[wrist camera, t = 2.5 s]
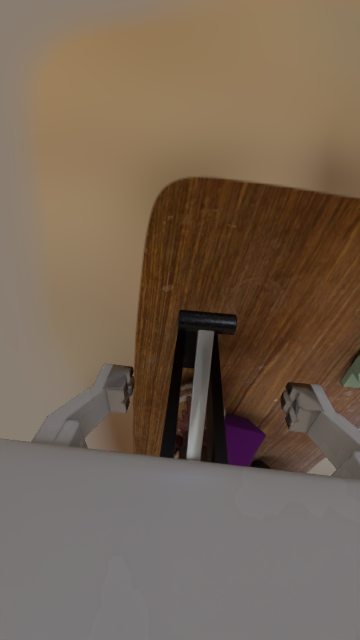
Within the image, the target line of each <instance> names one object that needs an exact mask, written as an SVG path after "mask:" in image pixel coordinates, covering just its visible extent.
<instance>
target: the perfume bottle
mask: <svg viewBox="0 0 360 640" xmlns="http://www.w3.org/2000/svg"><path fill="white" fill-rule="evenodd" d="M225 432H226V444H227V456H228V464H229V465H238V466H247V467H249V465H250V463H251V461H252V459H253V457H254V455H255V453H256V452H257V450H258V448H259V447H260V445H261V443H262V442H263V440H264V438H265V436H266V435H265V434H264V433H263V432H262V431H261V430H260V429H259V428H258V427H256V426H255V425H254V424H253V423H252V422H251V421H249V420H248V419H245V418H241V417H238V416H234V415H230V414H226V415H225Z"/></svg>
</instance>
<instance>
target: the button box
mask: <svg viewBox="0 0 360 640" xmlns="http://www.w3.org/2000/svg"><path fill="white" fill-rule="evenodd" d="M340 382H341V384H342V385H343V386H344V387H354V388H360V354H359V355H358V357H357V358H356V359H355V361H354V362H353V364H352V365H351V367H350V368H349V370H348V371H347V373H346V374H345V375H344V377H343V378H342V380H341V381H340Z"/></svg>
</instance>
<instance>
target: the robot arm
mask: <svg viewBox="0 0 360 640" xmlns="http://www.w3.org/2000/svg"><path fill="white" fill-rule="evenodd" d="M133 372H134V371H133V367H130V366H122V365H113V364H104V365H103V366H102V368H101V370H100V372H99V374H98V376H97V378H96V380H95V382H94V384H93V386H92V388H87V389H86V390H85V391H83V392H82V393H80V394H79V395H77V396H76V397H75V398H73V399H72V400H70V401H69V402H68V403H66V404H65V405H63V406H62V407H60V408H59V409H57V410H56V411H54V412H53V413H51V414H50V415H49V416H47V417H46V419H45V421H44V422H43V424H42V425H41V427H40V429H39V430H38V432H37V434H36V435H35V437H34V438H33V440H32V441H31V442H26V441H18V440H9V439H0V640H360V430H359V429H358V428H356V427H355V426H354V425H353V424H351V423H350V422H349V421H348V420H346V419H345V418H344V417H343V416H342V415H340V414H339V413H335V411H334V409H333V407H332V405H331V403H330V402H329V400H328V398H327V396H326V394H325V392H324V391H323V389H322V387H321V386H320V385H316V384H306V383H295V382H288V383H287V385H286V391H284V392H283V393H282V395H281V407H282V410H283V411H284V412H285V413H286V414H287V416H286V418H285V420H286V423H287V426H288V429H289V431H295V432H303V433H306V434H307V435H308V436H309V438H310V439H311V440H312V441H313V442H314V443H315V445H316V446H317V447H318V448H319V449H320V450H321V451H322V453H323V454H324V455H325V456H326V457H327V458H328V460H329V461H330V462H331V463H332V464H333V465H334V467H335V468H336V469H337V470H336V471H335V472H334V473H333V474H332V475H331V476H326V475H317V474H308V473H300V472H291V471H282V470H273V469H264V468H255V467H247V466H238V465H229V464H220V463H211V462H202V461H193V460H184V459H176V458H167V457H158V456H149V455H140V454H132V453H123V452H114V451H105V450H96V449H88V448H87V445H86V442H85V439H84V438H85V437H86V436H87V435H88V434H89V433H90V432H91V431H92V430H93V429H94V428H95V427H96V426H97V425H98V424H99V423H100V422H101V421H102V420H103V419H104V418H105V417H106V416H107V415H108V414H109V413H110V412H117V413H126V412H127V409H128V406H129V403H130V401H129V397H130V396H131V395H132V393H133V389H134V377H133V376H132V375H133Z"/></svg>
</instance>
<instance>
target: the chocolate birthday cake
mask: <svg viewBox="0 0 360 640" xmlns="http://www.w3.org/2000/svg"><path fill="white" fill-rule="evenodd" d="M192 386H193V380H191V381H187V382H185V383H183V384H181V390H180V400H179V410H178V420H177V431H176V441H175V451H174V458H176V459H178V458H179V447H187V438H188V427H189V417H190V407H191V396H192ZM223 408H224V420H225V409H226V408H225V403H224V400H223ZM202 449H206V453H207V428H206V414H205V424H204V433H203V443H202Z"/></svg>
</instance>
